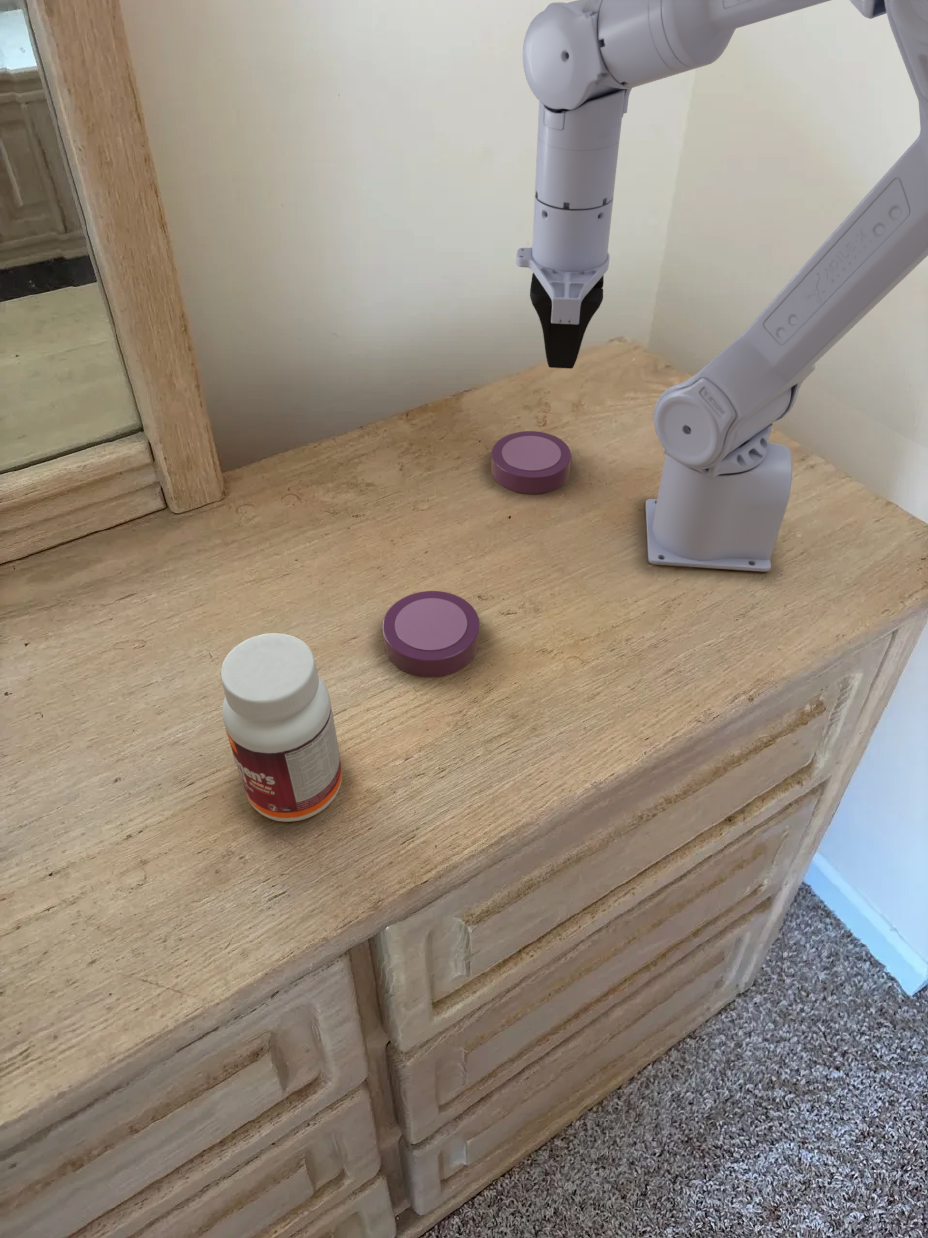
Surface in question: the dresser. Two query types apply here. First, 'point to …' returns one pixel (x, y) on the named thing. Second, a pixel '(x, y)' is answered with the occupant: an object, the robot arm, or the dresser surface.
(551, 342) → the robot arm
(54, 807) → the dresser surface
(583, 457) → the dresser surface
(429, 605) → the purple disc
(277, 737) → the pill bottle
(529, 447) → the purple round puck
